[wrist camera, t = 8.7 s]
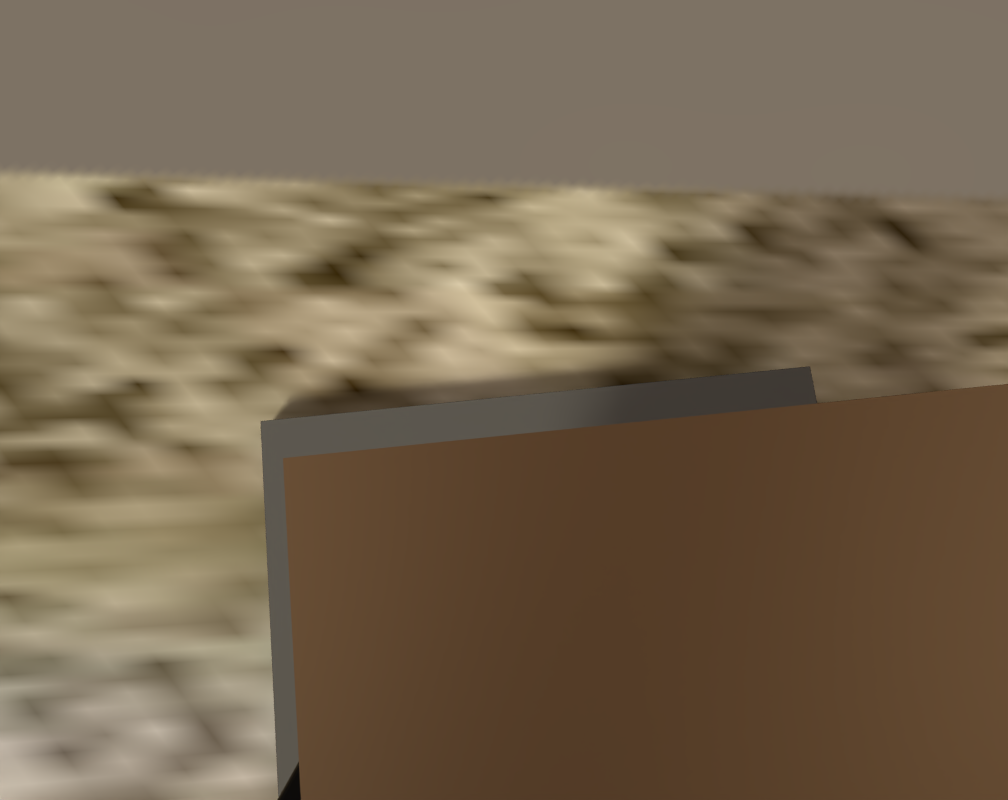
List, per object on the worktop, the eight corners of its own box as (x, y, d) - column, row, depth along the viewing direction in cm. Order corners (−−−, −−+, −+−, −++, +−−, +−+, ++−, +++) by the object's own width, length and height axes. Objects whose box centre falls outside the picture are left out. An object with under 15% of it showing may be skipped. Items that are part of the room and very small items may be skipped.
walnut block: (723, 557, 16) (1414, 343, 4) (775, 876, 15) (1956, 1845, 3) (430, 588, 16) (281, 457, 4) (460, 916, 14) (375, 2160, 3)
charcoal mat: (800, 373, 21) (809, 366, 20) (935, 1078, 18) (951, 1093, 17) (267, 427, 20) (260, 421, 20) (303, 1166, 17) (296, 1185, 16)
